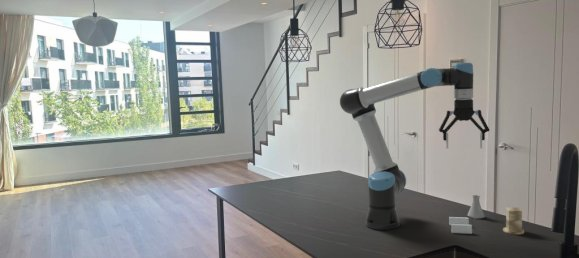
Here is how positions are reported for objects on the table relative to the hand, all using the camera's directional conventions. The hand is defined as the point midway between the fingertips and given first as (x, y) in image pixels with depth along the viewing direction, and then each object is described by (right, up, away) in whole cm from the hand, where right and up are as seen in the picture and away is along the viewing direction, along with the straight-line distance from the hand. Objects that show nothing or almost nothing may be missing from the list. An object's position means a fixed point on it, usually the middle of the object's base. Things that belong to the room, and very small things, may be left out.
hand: (463, 148), depth 190 cm
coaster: (+18, -35, -6) cm, 40 cm away
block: (+18, -34, -7) cm, 39 cm away
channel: (-2, -35, -1) cm, 35 cm away
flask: (+12, -33, +15) cm, 38 cm away
